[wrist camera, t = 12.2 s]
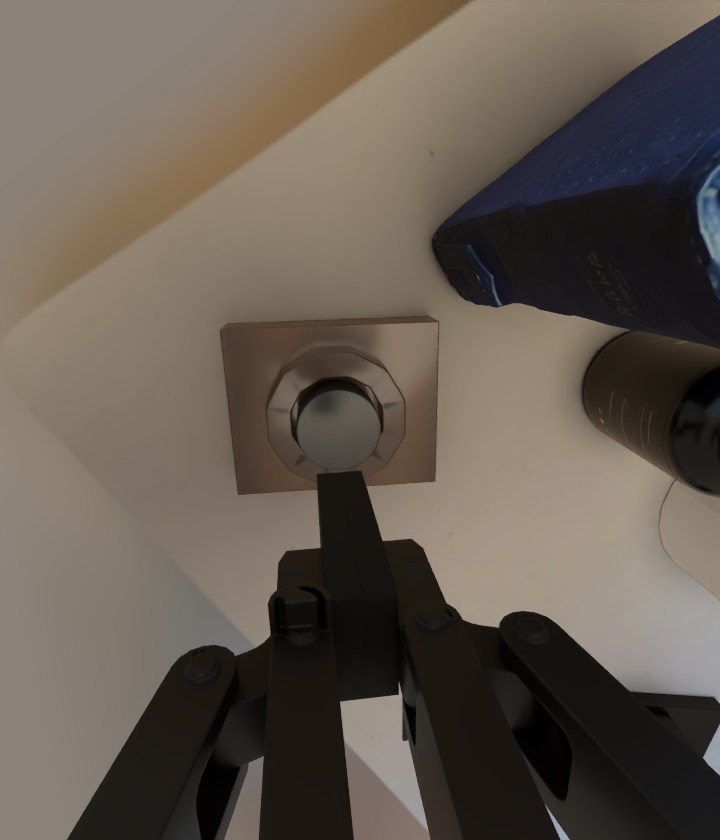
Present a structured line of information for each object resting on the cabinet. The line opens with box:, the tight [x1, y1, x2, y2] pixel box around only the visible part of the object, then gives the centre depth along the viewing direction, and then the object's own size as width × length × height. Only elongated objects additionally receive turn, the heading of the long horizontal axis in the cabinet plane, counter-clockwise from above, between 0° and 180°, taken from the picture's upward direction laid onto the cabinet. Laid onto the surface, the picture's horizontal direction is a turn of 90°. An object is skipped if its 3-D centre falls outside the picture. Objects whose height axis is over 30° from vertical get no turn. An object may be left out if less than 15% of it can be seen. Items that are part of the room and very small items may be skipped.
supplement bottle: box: [584, 331, 720, 498], centre depth 25 cm, size 7×7×12 cm
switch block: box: [220, 316, 439, 495], centre depth 28 cm, size 11×9×4 cm
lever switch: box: [630, 692, 720, 762], centre depth 35 cm, size 14×6×10 cm, turn 79°
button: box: [296, 381, 381, 470], centre depth 25 cm, size 4×4×2 cm
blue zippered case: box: [432, 15, 720, 349], centre depth 18 cm, size 14×5×20 cm, turn 127°
